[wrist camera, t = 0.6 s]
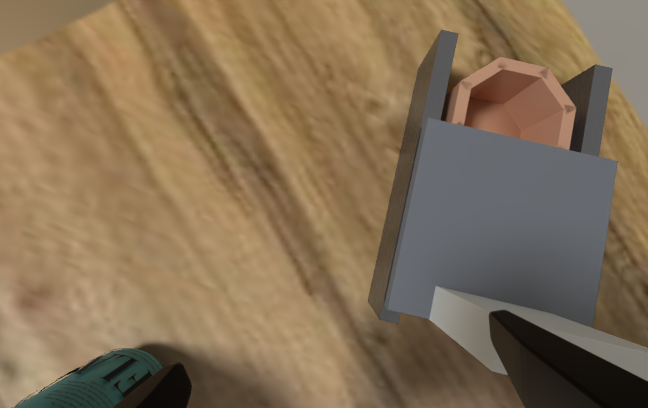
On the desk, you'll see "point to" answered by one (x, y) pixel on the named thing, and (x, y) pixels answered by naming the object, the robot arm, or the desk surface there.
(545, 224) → the sliding lid
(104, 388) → the beverage bottle
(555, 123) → the terracotta cup
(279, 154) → the desk surface
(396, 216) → the metal rails
